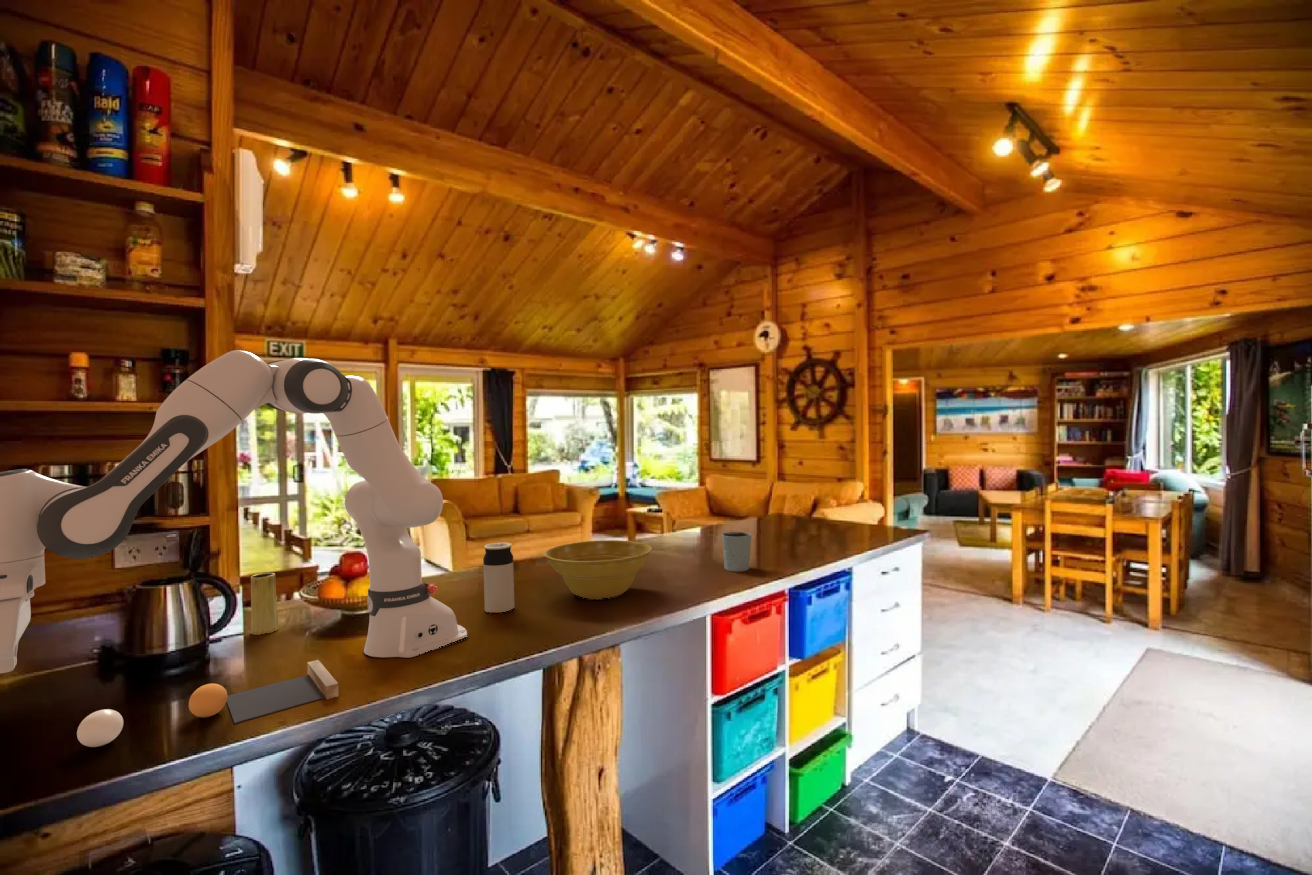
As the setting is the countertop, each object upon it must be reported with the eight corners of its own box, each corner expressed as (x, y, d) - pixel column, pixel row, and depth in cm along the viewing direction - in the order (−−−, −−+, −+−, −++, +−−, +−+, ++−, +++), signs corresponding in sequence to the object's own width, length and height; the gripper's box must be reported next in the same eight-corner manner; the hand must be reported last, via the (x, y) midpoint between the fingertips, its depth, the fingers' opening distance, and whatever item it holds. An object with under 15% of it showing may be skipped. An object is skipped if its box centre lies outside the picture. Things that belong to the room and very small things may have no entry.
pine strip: (318, 671, 124) (318, 659, 124) (338, 696, 112) (338, 683, 112) (307, 674, 123) (307, 662, 123) (326, 699, 111) (326, 686, 111)
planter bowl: (545, 583, 191) (544, 542, 191) (644, 577, 197) (643, 536, 197) (545, 614, 159) (543, 564, 159) (662, 605, 165) (661, 557, 165)
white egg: (124, 732, 100) (122, 700, 100) (123, 744, 96) (122, 711, 96) (78, 744, 97) (77, 710, 96) (76, 757, 92) (75, 722, 92)
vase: (269, 634, 148) (267, 577, 147) (244, 635, 148) (242, 578, 147) (284, 626, 154) (282, 571, 154) (260, 627, 154) (258, 572, 154)
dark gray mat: (308, 675, 122) (308, 674, 122) (325, 697, 112) (325, 696, 112) (225, 697, 113) (225, 696, 113) (234, 723, 102) (234, 722, 102)
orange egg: (226, 705, 109) (225, 675, 109) (229, 715, 105) (228, 684, 105) (188, 715, 106) (187, 684, 106) (190, 726, 102) (189, 694, 102)
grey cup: (719, 571, 203) (718, 536, 202) (725, 564, 212) (725, 530, 212) (749, 572, 199) (748, 537, 199) (754, 565, 209) (753, 531, 209)
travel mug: (499, 616, 159) (497, 548, 158) (478, 611, 163) (476, 546, 163) (520, 607, 166) (518, 543, 165) (500, 604, 170) (498, 541, 169)
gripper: (-16, 570, 95) (-12, 656, 95) (-45, 596, 80) (-40, 698, 80) (41, 563, 99) (44, 646, 99) (24, 586, 84) (28, 684, 84)
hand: (6, 669), depth 90 cm, fingers closed
